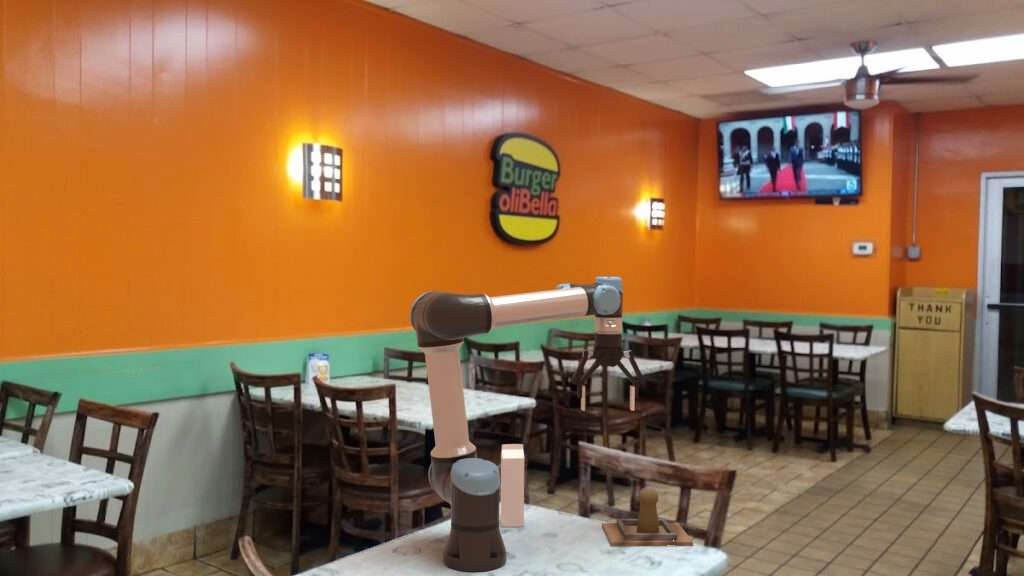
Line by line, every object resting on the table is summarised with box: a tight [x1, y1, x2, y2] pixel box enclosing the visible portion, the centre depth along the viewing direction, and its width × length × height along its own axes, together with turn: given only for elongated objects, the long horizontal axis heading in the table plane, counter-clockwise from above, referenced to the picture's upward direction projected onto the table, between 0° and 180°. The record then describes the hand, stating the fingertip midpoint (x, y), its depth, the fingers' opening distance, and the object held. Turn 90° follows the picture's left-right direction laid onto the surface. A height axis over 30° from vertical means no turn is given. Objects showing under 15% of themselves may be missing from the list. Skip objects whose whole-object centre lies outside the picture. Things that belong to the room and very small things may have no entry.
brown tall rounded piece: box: [637, 489, 659, 533], centre depth 216 cm, size 6×6×11 cm
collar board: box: [601, 518, 694, 547], centre depth 217 cm, size 21×16×2 cm
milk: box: [500, 443, 525, 528], centre depth 226 cm, size 6×6×22 cm
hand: (607, 409), depth 226 cm, fingers open, 13 cm apart
